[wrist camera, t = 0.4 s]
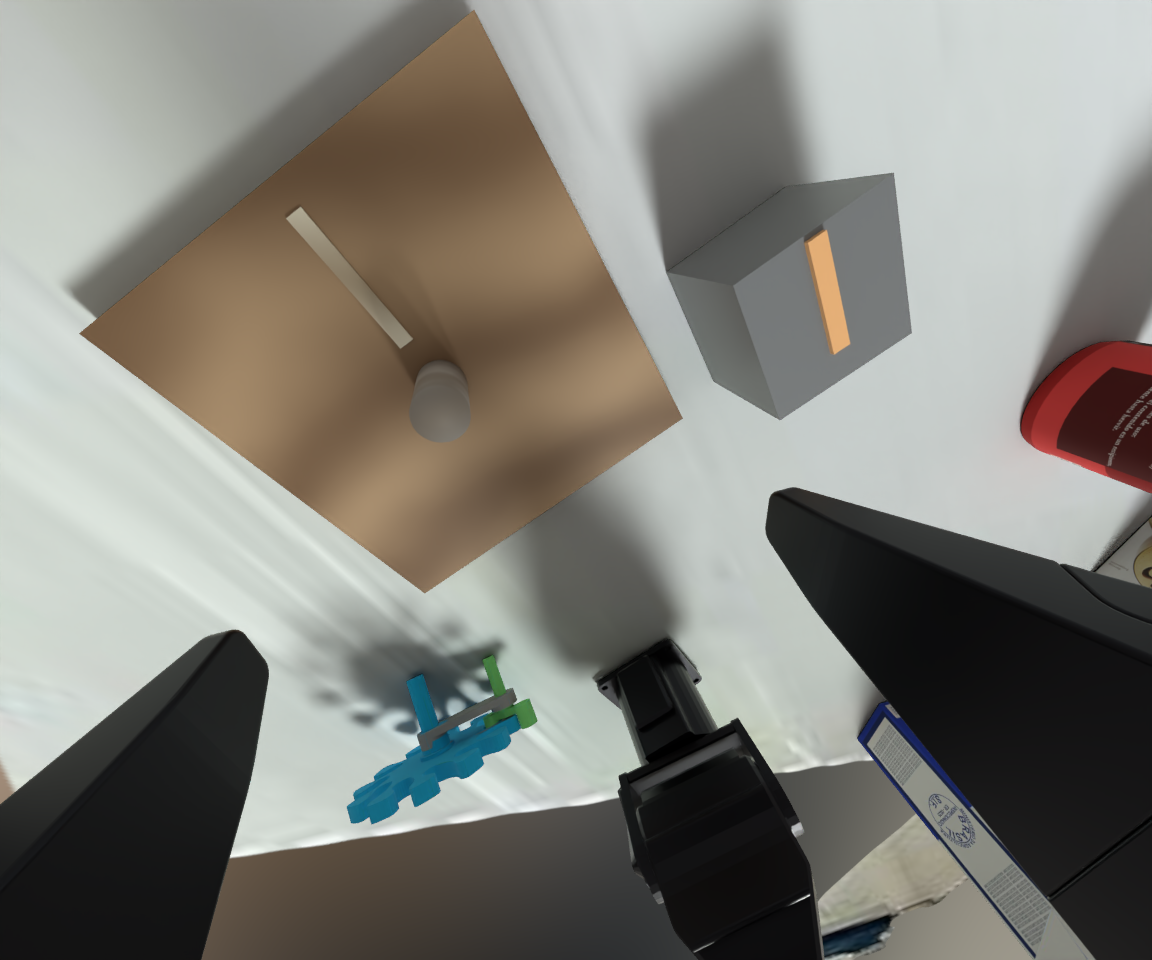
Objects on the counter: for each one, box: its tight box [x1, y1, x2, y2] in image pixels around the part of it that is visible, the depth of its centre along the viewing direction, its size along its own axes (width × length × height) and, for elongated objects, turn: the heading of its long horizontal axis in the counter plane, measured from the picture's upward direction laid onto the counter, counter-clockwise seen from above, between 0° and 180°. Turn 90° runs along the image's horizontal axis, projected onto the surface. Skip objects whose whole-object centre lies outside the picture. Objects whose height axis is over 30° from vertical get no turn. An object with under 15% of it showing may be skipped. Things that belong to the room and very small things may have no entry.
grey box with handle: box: [666, 173, 912, 420], centre depth 18 cm, size 6×6×6 cm
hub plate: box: [79, 10, 683, 593], centre depth 17 cm, size 16×16×5 cm
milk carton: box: [857, 702, 1095, 960], centre depth 40 cm, size 7×7×20 cm
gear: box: [347, 655, 537, 824], centre depth 26 cm, size 11×6×10 cm
